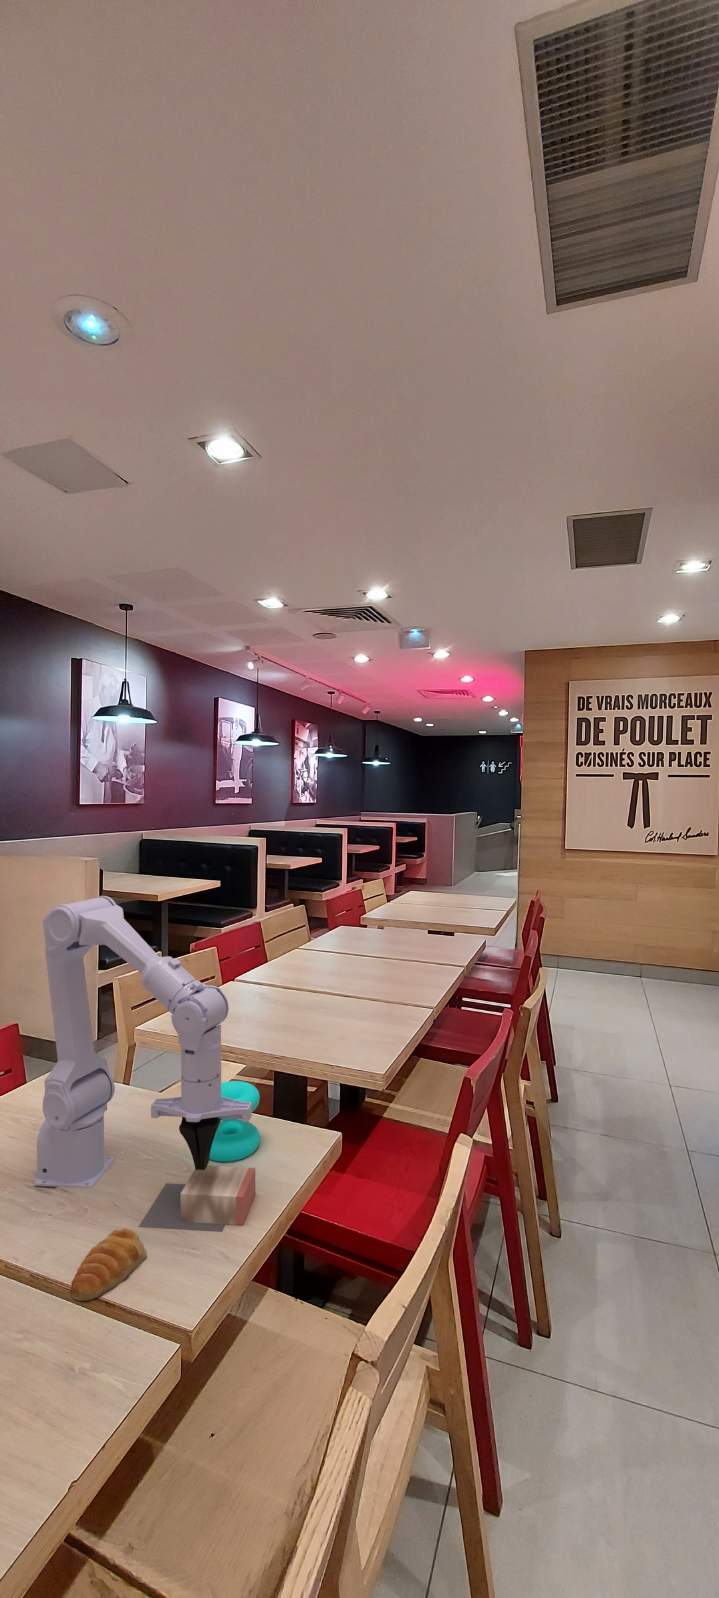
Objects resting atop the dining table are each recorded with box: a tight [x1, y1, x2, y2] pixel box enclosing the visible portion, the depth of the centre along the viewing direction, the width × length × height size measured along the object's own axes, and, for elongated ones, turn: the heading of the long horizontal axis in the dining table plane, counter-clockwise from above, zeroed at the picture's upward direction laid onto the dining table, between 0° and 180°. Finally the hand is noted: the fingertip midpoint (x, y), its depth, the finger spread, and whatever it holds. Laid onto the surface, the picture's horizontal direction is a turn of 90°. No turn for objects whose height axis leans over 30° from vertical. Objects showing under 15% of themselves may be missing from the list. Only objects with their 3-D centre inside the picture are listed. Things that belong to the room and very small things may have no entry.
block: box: [180, 1165, 256, 1226], centre depth 95 cm, size 4×7×9 cm
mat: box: [138, 1182, 226, 1233], centre depth 95 cm, size 12×10×1 cm
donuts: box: [209, 1080, 261, 1163], centre depth 111 cm, size 10×10×10 cm
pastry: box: [71, 1228, 148, 1302], centre depth 82 cm, size 9×7×4 cm
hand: (202, 1166), depth 95 cm, fingers closed
